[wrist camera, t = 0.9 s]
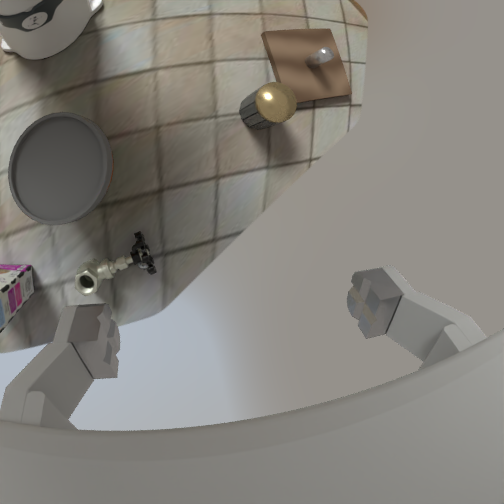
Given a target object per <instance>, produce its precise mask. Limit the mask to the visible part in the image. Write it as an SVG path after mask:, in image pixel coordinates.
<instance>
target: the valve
mask: <svg viewBox="0 0 504 504" xmlns="http://www.w3.org/2000/svg"><path fill="white" fill-rule="evenodd" d="M134 235H135V238H137V239H138V241H136V244H135V245H133V247H132V252H130V254H131V256H129V257H125V256H121V257H119V258H117V259H116V261H115V262H113V261H109V260H108V259H107V258H106V259H104V260H102V261H101V263H99V262H98V261H96V260H95V259H92V260H89V261H87V262H85V263H83V264H82V265H81V266H80V267H79V269H78V271H77V274H76V276H75V289H76V290H77V291H78V292H80V293H81V294H83V295H84V296H88V295H91V294H93V293H95V292H97V290H98V287H99V286H100V285H101V283H102V281H103V279H105V278H107V279H111V278H113V277H114V276H115V275H114V273H115V272H117V269H120V270H123V269H125V268H127V267H128V266H129V265H128V264H129V263H132V262H134V264H135V265H136V264H137V265H138V266H139V268H141V269H144V270H145V269H147V271H148V273H149V274H151V275H152V274H154V273H156V272H157V271H156V268H155V266H154V265H153V264H154V261H153V258H152V257H151V256H150V253H149V251H150V250H149V247H148V245H146V243H145V238H144V236H143V234H142V233H141V231H139V232H137V233H134ZM137 248H141V249H137ZM136 249H137V250H136ZM141 262H143V263H147V265H144V266H143V265H142V264H141ZM89 276H90V277H89Z"/></svg>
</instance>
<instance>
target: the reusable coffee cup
mask: <svg viewBox="0 0 504 504" xmlns="http://www.w3.org/2000/svg"><path fill="white" fill-rule="evenodd" d="M112 175H113V155H112V151H111V147H110V144H109V142H108V139H107V138H106V136H105V134H104V133H103V131H102V130H101V129H100V128H99V127H98V126H97V125H96V124H95V123H94V122H92V121H91V120H89V119H87V118H85V117H82V116H79V115H76V114H73V113H66V112H60V113H52V114H49V115H46V116H44V117H42V118H40V119H38V120H37V121H35V122H34V123H32V124H31V125H30V126H29V127H28V128H27V129H26V130H25V131H24V132H23V134H22V135H21V136H20V137H19V139H18V141H17V143H16V144H15V146H14V149H13V151H12V154H11V157H10V162H9V171H8V179H9V185H10V190H11V193H12V196H13V199H14V200H15V202H16V204H17V205H18V207H19V208H20V209H21V210H22V212H23V213H24V214H25V215H27V216H28V217H29V218H31V219H32V220H34V221H37V222H39V223H42V224H48V225H60V224H66V223H70V222H73V221H77V220H79V219H81V218H83V217H84V216H86V215H87V214H89V213H90V212H91V211H92V210H94V208H95V207H96V206H97V205H98V204H99V203H100V202H101V200H102V198H103V197H104V195H105V193H106V192H107V190H108V188H109V185H110V183H111V179H112Z"/></svg>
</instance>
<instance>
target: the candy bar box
mask: <svg viewBox="0 0 504 504" xmlns="http://www.w3.org/2000/svg"><path fill="white" fill-rule="evenodd" d="M34 292H35V291H34V283H33V273H32V265H0V333H1V332H2V330H3V329H4V328H5V327H6V325H7V324H8V323H9V322H10V320H11V319H12V318H13V317H14V315H15V314H16V313H17V311H18V310H19V309H20V308H21V307H22V306H23V305H24V303H25V302H26V301H27V300H28V299H29V298H30V296H31V295H32V294H33V293H34Z"/></svg>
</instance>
